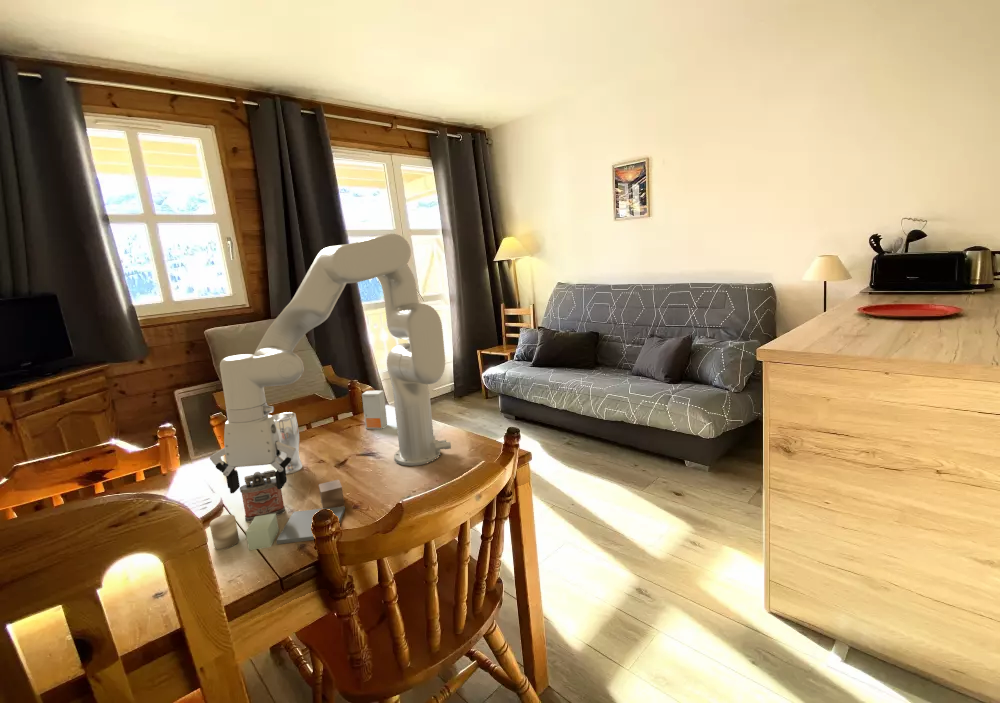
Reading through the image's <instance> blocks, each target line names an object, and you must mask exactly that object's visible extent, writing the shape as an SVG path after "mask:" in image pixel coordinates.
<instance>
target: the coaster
mask: <svg viewBox="0 0 1000 703" xmlns="http://www.w3.org/2000/svg"><path fill="white" fill-rule="evenodd" d="M321 509H322V508H317V509H308V510H298V511H297V510H296V511H293V512H292V513H291V515H290V517H289V518H288V520H287V521H286V523H285V525H284V527H283V528H282V530H281V532H280V533H279V535H278V537H277V539H275V540H276V544H277V545H281V544H288V543H297V542H306V541H315V540H314V537H313V534H312V531H311V524H312V517H313V515H314V514H315V513H316V512H318V511H319V510H321ZM324 509H330V510H332V511H333V513H334V514H335V515H336V516H338V518H339V521H340V523H341V522H342V519H343V516H344V513H345V511H346V507H345V505H343V506H340V507H333V508H324Z"/></svg>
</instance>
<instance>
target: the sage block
mask: <svg viewBox="0 0 1000 703" xmlns="http://www.w3.org/2000/svg"><path fill="white" fill-rule="evenodd" d="M279 530H280V529H279V525H278V518H277V515H276V513H275V514H268V515H261V516H255V517H254V519H253V521H250V525H248V528H247V530H246V531H245V537H246V540H247V542H246V543H247V545H248V550H249V551H252V550H253V551H254V550H259V549H265V548H271V547H272V546H273V543H274V541H275V540H276V537H277V535H278V533H279Z"/></svg>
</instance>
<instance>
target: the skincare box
mask: <svg viewBox="0 0 1000 703" xmlns="http://www.w3.org/2000/svg"><path fill="white" fill-rule="evenodd" d="M361 397H362V405H363V406H362V408H363V416H364V425H365V429H367V430H368V429H372V430H375V429H376V430H383V429H384V428H385V427H387V425H388V419H387V411H386V410H387V408H386V402H385V401H386V399H385V398H386V397H385V391H384V390H376V389H375V390H366V391H364V392H363V393H361ZM383 427H384V428H383ZM380 428H381V429H380ZM382 428H383V429H382Z"/></svg>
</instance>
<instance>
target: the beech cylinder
mask: <svg viewBox="0 0 1000 703" xmlns="http://www.w3.org/2000/svg"><path fill="white" fill-rule="evenodd" d="M209 528H210V532H211V538H212V542H213V547H215V548H214V549H215V550H218V551H221V550H227V549H230V548H232V547H234V546H235V545H237V544H238V543H239V542H240V537H239V531H238V526H237V521H236V517H235V514H224V515H221V516H218V517H215V518H214V519H212V520H211V521H210V522H209Z"/></svg>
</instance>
